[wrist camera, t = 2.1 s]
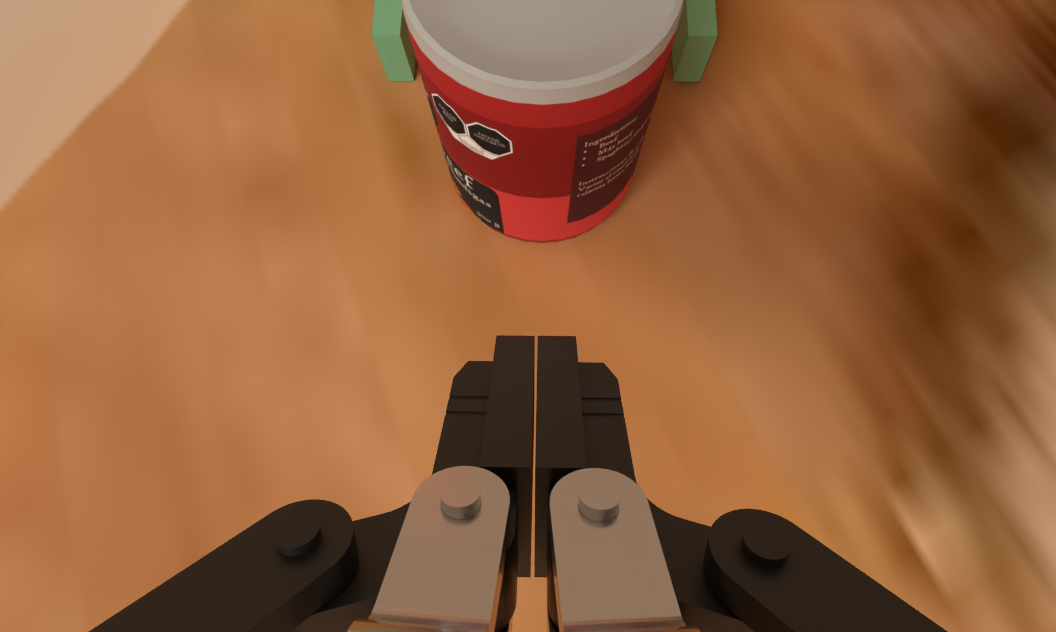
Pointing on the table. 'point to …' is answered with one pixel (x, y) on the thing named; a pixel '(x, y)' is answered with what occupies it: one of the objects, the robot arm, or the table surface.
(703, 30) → the green u-shaped frame
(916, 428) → the table surface
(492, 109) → the canned food
